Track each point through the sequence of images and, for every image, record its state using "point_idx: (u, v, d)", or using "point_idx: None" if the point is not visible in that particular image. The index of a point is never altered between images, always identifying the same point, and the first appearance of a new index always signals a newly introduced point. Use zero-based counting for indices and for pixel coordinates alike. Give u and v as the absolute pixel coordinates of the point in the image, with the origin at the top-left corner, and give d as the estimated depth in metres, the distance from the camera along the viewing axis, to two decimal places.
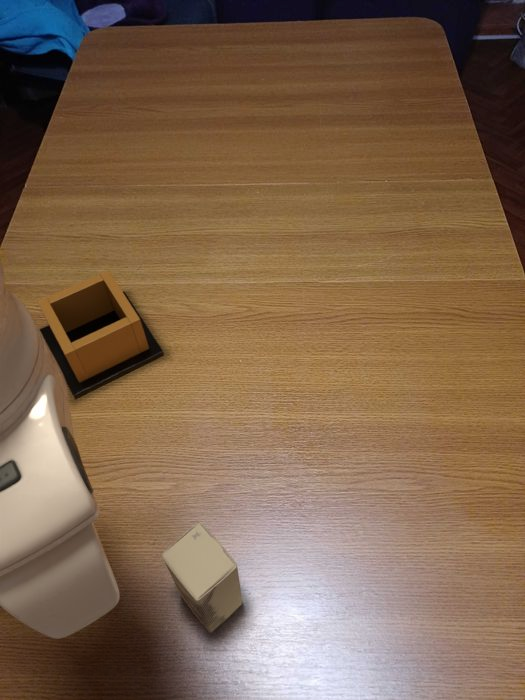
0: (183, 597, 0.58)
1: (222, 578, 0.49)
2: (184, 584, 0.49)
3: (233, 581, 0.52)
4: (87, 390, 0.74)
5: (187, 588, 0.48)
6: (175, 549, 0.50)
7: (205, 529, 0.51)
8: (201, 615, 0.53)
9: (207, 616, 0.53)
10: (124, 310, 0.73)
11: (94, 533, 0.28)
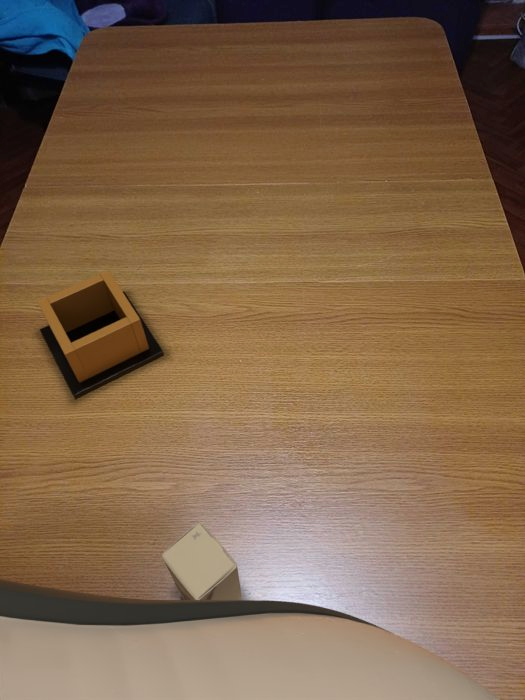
0: (183, 597, 0.58)
1: (222, 578, 0.49)
2: (184, 584, 0.49)
3: (233, 581, 0.52)
4: (87, 390, 0.74)
5: (187, 588, 0.48)
6: (175, 549, 0.50)
7: (205, 529, 0.51)
8: None
9: None
10: (124, 310, 0.73)
11: None
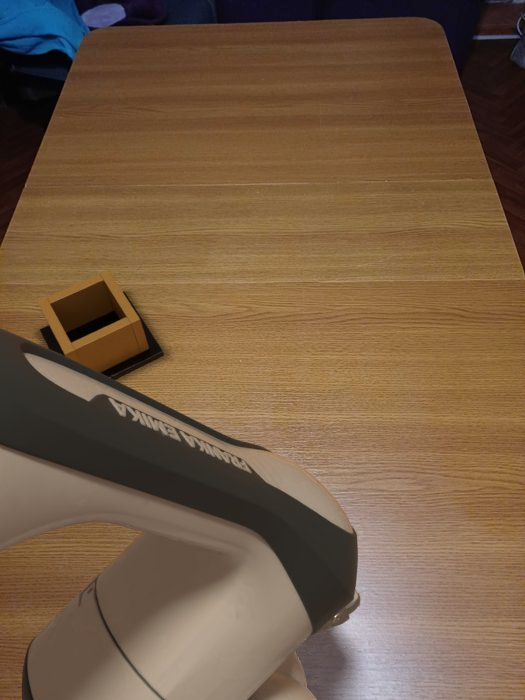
0: None
1: None
2: None
3: None
4: None
5: None
6: None
7: None
8: None
9: None
10: (124, 310, 0.73)
11: None
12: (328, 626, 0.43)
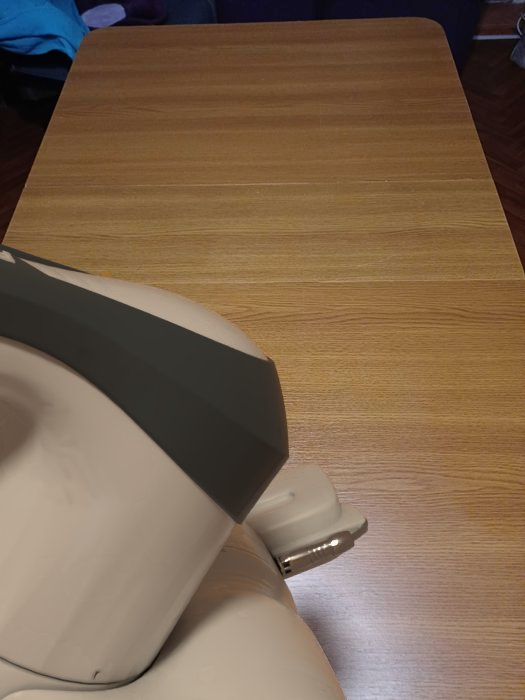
0: None
1: None
2: None
3: None
4: None
5: None
6: None
7: None
8: None
9: None
10: None
11: None
12: (327, 554, 0.33)
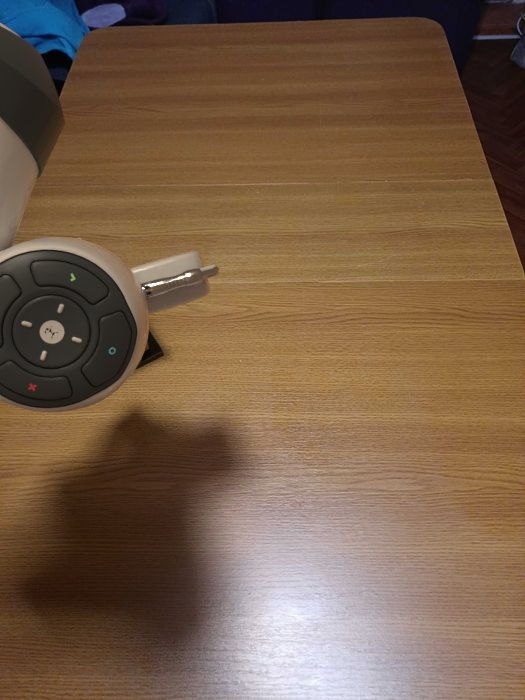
0: None
1: None
2: None
3: None
4: None
5: None
6: None
7: None
8: None
9: None
10: None
11: None
12: (180, 283, 0.43)
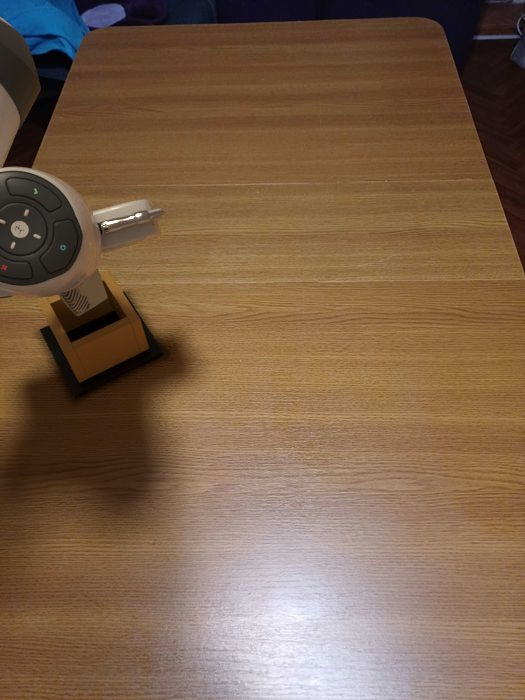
0: None
1: None
2: None
3: None
4: (87, 390, 0.74)
5: None
6: None
7: None
8: None
9: None
10: (124, 310, 0.73)
11: None
12: (131, 221, 0.54)
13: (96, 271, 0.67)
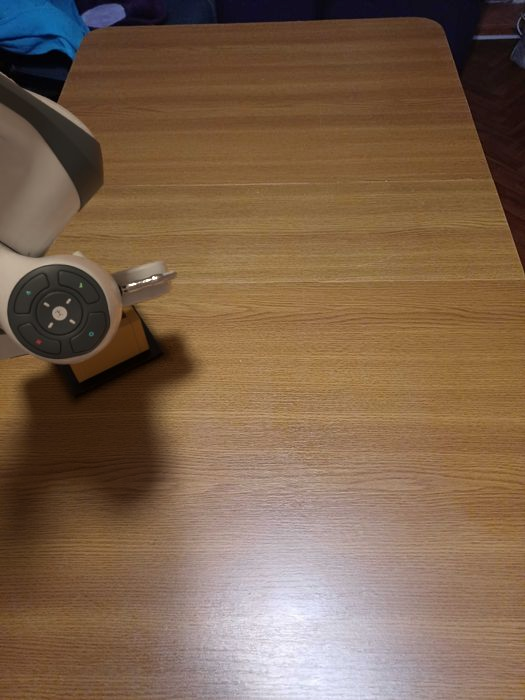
0: None
1: None
2: None
3: None
4: (87, 390, 0.74)
5: None
6: None
7: (81, 254, 0.69)
8: None
9: None
10: (124, 310, 0.73)
11: None
12: (148, 283, 0.61)
13: None
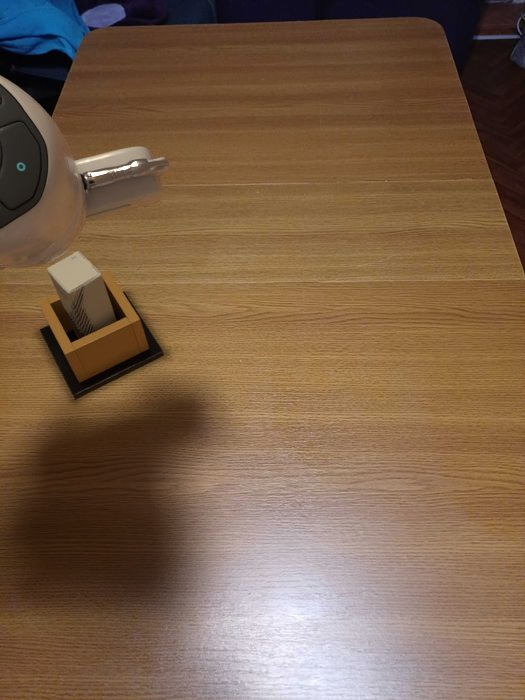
0: (75, 331, 0.76)
1: (88, 281, 0.67)
2: (60, 284, 0.67)
3: (102, 295, 0.70)
4: (87, 390, 0.74)
5: (62, 286, 0.67)
6: (57, 265, 0.68)
7: (81, 254, 0.69)
8: (81, 326, 0.71)
9: (85, 327, 0.71)
10: (124, 310, 0.73)
11: None
12: (125, 172, 0.41)
13: (114, 319, 0.74)
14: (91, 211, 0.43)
